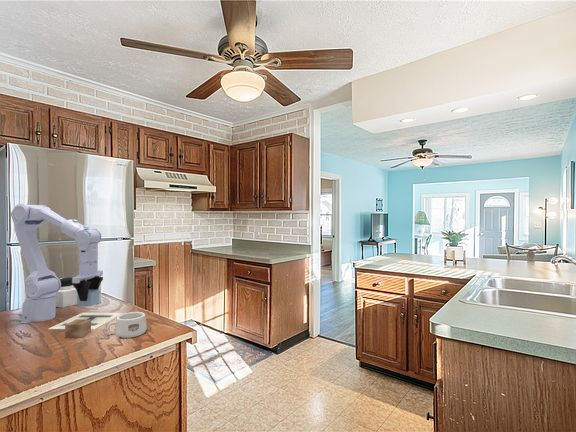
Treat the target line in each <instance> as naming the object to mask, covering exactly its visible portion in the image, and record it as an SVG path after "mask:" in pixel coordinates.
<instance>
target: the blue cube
mask: <svg viewBox="0 0 576 432" xmlns="http://www.w3.org/2000/svg"><path fill="white" fill-rule="evenodd" d="M99 291H100V289H89V290H88V298H87V301H80V299H79V296H78V293H77V304H76V307H92V306H93V307H94V306H95V304H96V305H98V303H99ZM99 304H100V303H99Z"/></svg>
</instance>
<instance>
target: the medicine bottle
mask: <svg viewBox="0 0 576 432" xmlns="http://www.w3.org/2000/svg"><path fill="white" fill-rule="evenodd" d="M72 278H73V277H70V276H69V277H67V276H66V277H61V278H58V279H59V280H60V282H61V288H60V290H59V291H58V292H57V294H56V308H61V309H65V308H67V307H69V306H75V305H76V306H77V290H76V289H75V287H74V286H73V283H72Z"/></svg>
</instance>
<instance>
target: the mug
mask: <svg viewBox="0 0 576 432" xmlns="http://www.w3.org/2000/svg"><path fill="white" fill-rule="evenodd" d="M115 319H116V320H115V321H110V322H109V323H108V324H107V326H106V332H107V333H108V334H110V335H115V336H118V338H120V339H129V338H135V337H138V336H141V335H144V334H145V333H146V331H147V327H148V326H147V319H146V314H145V313H144V312H141V311H130V312H125V313H122V314H120V315H118V316H116V317H115ZM112 325H114V326H115V327H114V331H111V329H110V328H111V326H112Z"/></svg>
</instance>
